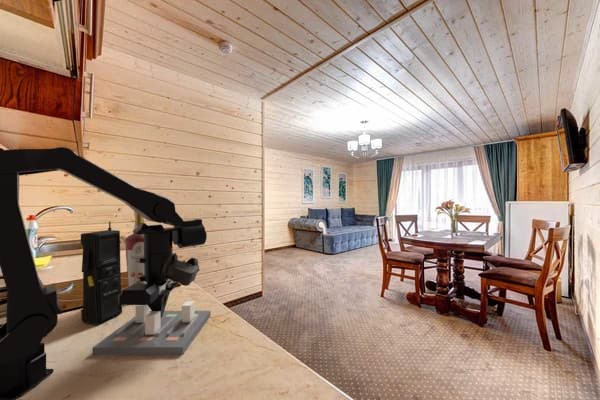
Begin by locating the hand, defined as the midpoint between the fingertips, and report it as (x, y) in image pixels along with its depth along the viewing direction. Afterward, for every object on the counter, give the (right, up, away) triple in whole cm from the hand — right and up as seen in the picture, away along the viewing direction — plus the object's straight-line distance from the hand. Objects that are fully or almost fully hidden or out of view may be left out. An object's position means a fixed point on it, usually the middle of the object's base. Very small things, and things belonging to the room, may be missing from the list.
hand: (159, 318), depth 57 cm
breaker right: (+6, -2, +3) cm, 6 cm away
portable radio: (-19, -4, +7) cm, 21 cm away
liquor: (-18, -4, +21) cm, 28 cm away
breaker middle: (0, -2, -3) cm, 3 cm away
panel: (0, -4, 0) cm, 4 cm away
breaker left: (-5, -2, +3) cm, 6 cm away
